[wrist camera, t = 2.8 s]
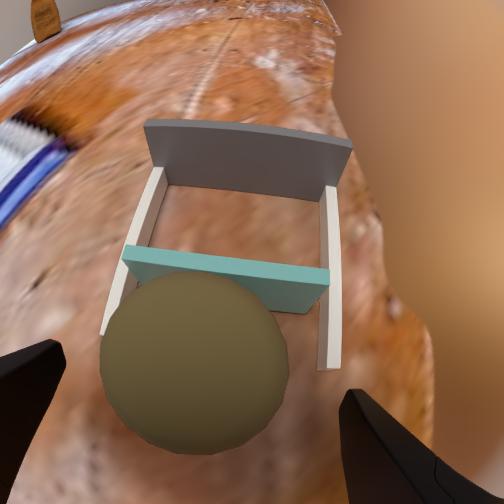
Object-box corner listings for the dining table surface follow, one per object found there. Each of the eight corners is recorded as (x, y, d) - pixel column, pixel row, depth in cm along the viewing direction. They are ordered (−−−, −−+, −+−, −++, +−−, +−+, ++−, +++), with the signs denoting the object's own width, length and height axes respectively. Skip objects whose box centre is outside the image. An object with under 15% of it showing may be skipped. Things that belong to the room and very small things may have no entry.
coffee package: (62, 27, 55) (52, -21, 35) (63, 31, 51) (52, -23, 31) (37, 39, 52) (25, -8, 32) (35, 46, 48) (21, -8, 28)
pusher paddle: (305, 313, 17) (330, 285, 13) (147, 293, 17) (121, 258, 13) (305, 301, 18) (330, 269, 13) (150, 281, 18) (125, 244, 13)
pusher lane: (329, 371, 16) (372, 359, 11) (112, 340, 16) (64, 315, 11) (328, 195, 22) (351, 140, 17) (161, 176, 22) (147, 119, 17)
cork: (282, 352, 16) (352, 291, 7) (241, 441, 14) (255, 521, 4) (191, 312, 17) (140, 205, 7) (148, 397, 15) (33, 394, 5)
